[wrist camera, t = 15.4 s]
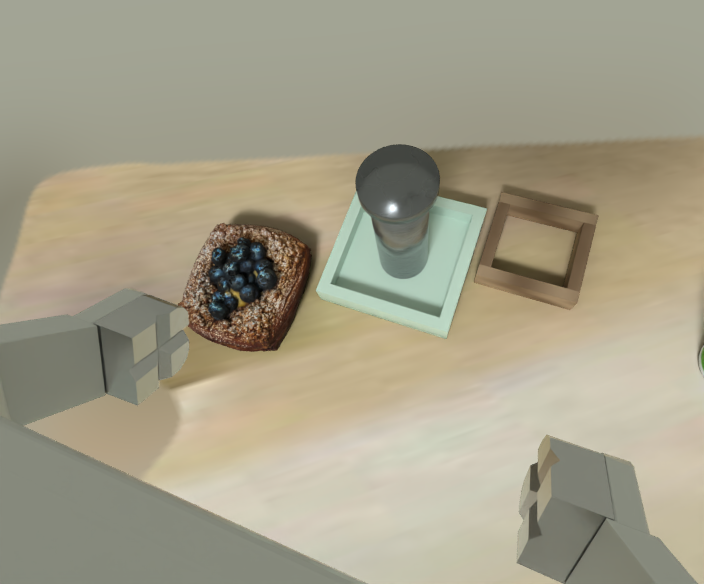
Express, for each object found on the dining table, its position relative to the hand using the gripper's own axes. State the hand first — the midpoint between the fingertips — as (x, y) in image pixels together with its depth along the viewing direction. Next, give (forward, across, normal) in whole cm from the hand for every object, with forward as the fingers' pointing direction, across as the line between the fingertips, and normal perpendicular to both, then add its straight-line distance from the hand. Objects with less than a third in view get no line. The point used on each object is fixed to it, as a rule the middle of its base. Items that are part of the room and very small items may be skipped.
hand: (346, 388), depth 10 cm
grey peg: (+32, +5, +11) cm, 35 cm away
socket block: (+36, -6, +8) cm, 37 cm away
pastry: (+28, +18, +17) cm, 37 cm away
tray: (+33, +5, +11) cm, 35 cm away
